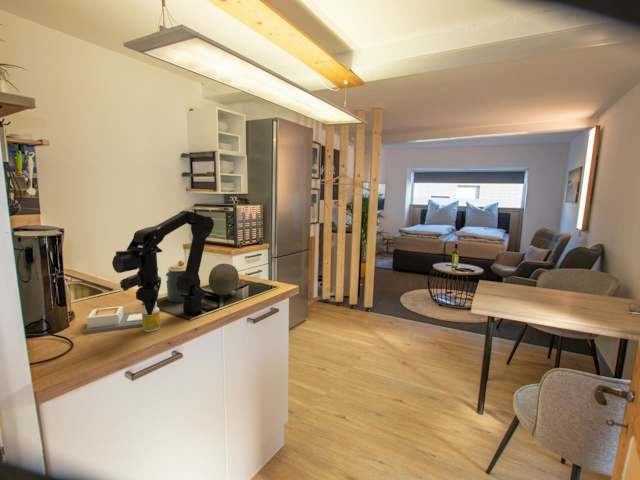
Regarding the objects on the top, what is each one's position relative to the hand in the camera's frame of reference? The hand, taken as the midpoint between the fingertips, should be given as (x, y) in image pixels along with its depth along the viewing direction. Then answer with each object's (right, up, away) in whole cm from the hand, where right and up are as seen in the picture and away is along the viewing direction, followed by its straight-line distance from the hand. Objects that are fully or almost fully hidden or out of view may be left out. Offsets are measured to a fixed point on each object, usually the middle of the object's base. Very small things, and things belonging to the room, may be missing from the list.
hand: (151, 310), depth 113 cm
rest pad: (-9, -6, +8) cm, 14 cm away
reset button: (-18, -4, +4) cm, 19 cm away
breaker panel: (-14, -6, +6) cm, 17 cm away
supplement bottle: (0, -7, +1) cm, 7 cm away
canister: (-3, -2, +34) cm, 34 cm away
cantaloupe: (+14, -2, +39) cm, 42 cm away
